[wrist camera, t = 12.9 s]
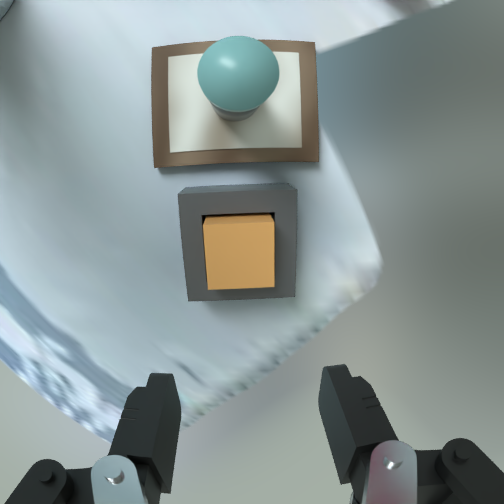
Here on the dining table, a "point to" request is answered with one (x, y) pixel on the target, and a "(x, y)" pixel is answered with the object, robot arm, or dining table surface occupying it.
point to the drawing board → (233, 132)
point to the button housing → (228, 202)
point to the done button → (239, 250)
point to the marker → (237, 76)
